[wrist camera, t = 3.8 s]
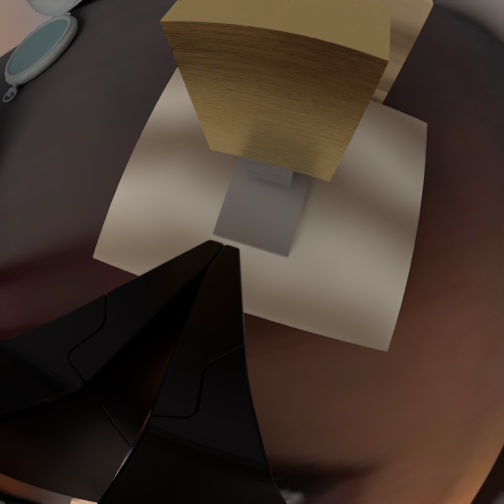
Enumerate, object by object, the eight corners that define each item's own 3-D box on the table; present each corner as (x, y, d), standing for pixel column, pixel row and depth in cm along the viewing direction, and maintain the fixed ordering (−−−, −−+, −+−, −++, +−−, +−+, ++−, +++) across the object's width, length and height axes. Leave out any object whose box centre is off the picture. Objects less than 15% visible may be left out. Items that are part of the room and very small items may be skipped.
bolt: (321, 197, 13) (388, 61, 5) (217, 168, 14) (159, 21, 5) (346, 87, 14) (388, -45, 5) (260, 65, 15) (252, -70, 6)
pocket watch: (74, -64, 10) (-30, 37, 9) (108, 0, 21) (38, 101, 19) (15, -33, 11) (-68, 66, 9) (51, 17, 22) (-11, 110, 20)
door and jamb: (374, 345, 15) (488, 395, 5) (110, 261, 17) (-20, 226, 7) (416, 82, 17) (470, -8, 8) (216, 31, 19) (195, -69, 9)
